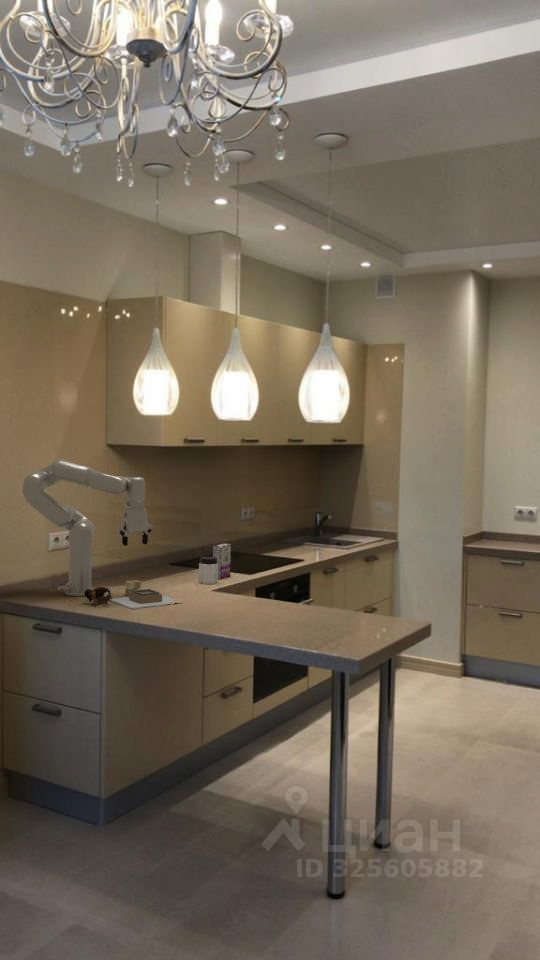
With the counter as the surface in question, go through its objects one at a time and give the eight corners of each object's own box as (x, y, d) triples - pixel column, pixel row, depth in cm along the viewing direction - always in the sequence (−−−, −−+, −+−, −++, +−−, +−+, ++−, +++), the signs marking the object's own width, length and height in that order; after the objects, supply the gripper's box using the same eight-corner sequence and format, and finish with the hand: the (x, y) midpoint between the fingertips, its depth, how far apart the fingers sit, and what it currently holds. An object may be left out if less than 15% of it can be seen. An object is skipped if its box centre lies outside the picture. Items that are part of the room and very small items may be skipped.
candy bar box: (221, 575, 425) (222, 543, 424) (230, 576, 423) (231, 544, 422) (211, 578, 415) (212, 545, 414) (220, 579, 413) (221, 546, 412)
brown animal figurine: (114, 603, 350) (116, 588, 345) (104, 617, 342) (106, 602, 337) (87, 594, 351) (89, 579, 347) (77, 608, 343) (79, 593, 339)
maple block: (130, 596, 363) (131, 582, 363) (125, 594, 367) (125, 581, 367) (141, 595, 367) (141, 581, 366) (135, 593, 370) (135, 580, 370)
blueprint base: (131, 609, 337) (132, 598, 337) (108, 600, 353) (108, 590, 353) (182, 603, 352) (183, 593, 352) (158, 595, 368) (158, 585, 368)
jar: (211, 584, 398) (212, 559, 397) (196, 583, 401) (196, 558, 400) (219, 582, 406) (220, 557, 405) (204, 580, 409) (205, 556, 408)
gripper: (122, 506, 357) (121, 547, 358) (157, 505, 367) (156, 544, 368) (113, 505, 363) (113, 545, 363) (148, 504, 373) (148, 542, 374)
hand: (135, 544), depth 366 cm, fingers open, 9 cm apart
